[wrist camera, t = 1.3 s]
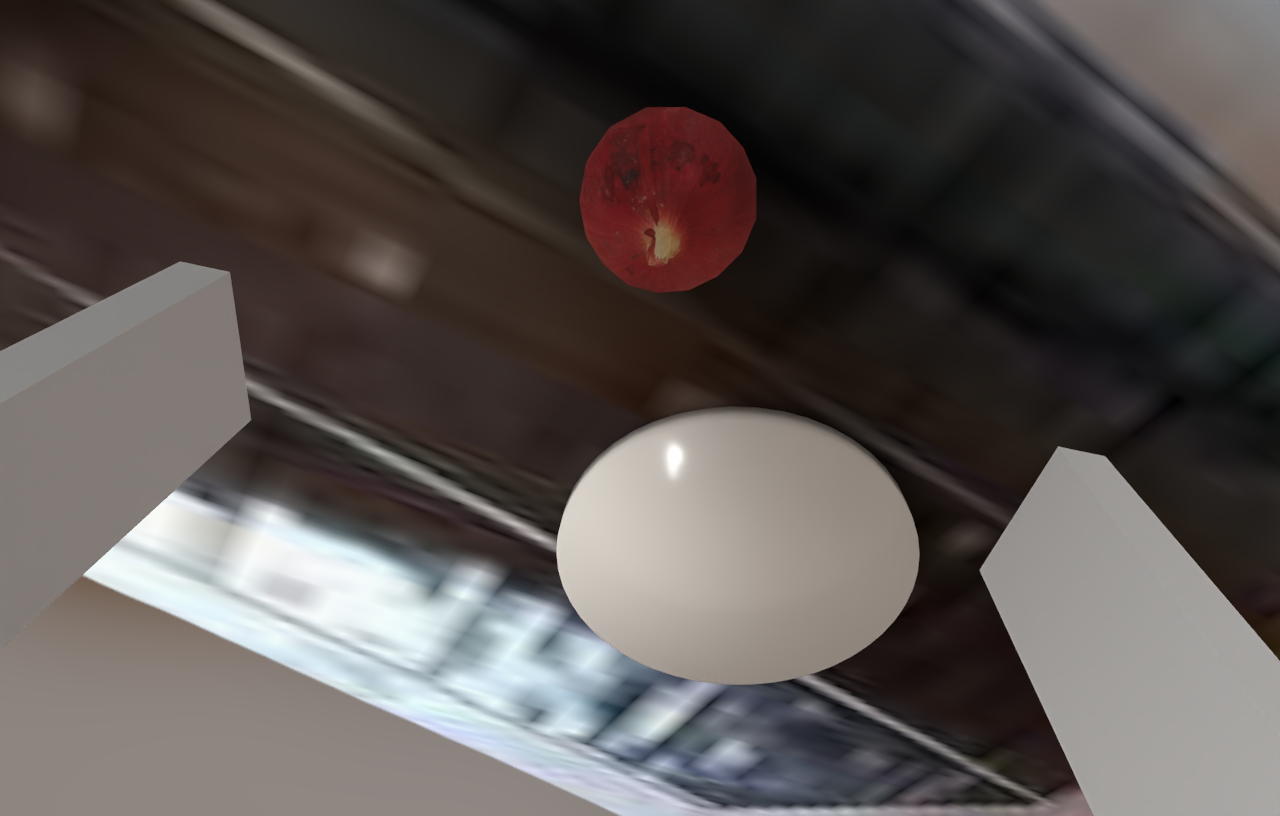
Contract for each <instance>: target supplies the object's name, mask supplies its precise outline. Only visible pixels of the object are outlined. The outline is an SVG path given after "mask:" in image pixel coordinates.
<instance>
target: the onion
mask: <svg viewBox="0 0 1280 816" xmlns="http://www.w3.org/2000/svg"><path fill="white" fill-rule="evenodd" d="M579 202H580V208H581V213H582V219H583V224H584V229H585V234H586V237H587V239H588V241H589V243H590V244H591V246H592V247H593V249H594V250H595V252H596V253H597V255H598V257H599V258H600V260H601V261H602V263H603V264H604V265H605V266H606V267H607V268H608V269H609V270H611V271H612V272H613V273H614V274H615V275H617V276H618V277H619V278H620V279H621V280H622V281H624V282H625V283H626V284H627V285H629V286H633V287H637V288H641V289H645V290H649V291H652V292H656V293H661V292H673V291H685V290H690V289H692V288H694V287H696V286H699V285H701V284H703V283H705V282H707V281H709V280H711V279H713V278H715V277H717V276H719V275H720V274H721V273H722V272H723V271H724V270H725V269H726V268H727V267H728V266H729V265H730V264H731V263H732V262H733V261H734V260H735V259H736V258H737V257H738V256H739V255H740V254H741V253H742V251H743V249H744V246H745V244H746V242H747V239H748V237H749V235H750V232H751V230H752V228H753V225H754V223H755V221H756V176H755V174H754V172H753V169H752V167H751V165H750V162H749V160H748V157H747V155H746V153H745V150H744V148H743V147H742V145H741V144H740V143H739V142H738V141H737V140H736V139H735V138H734V137H733V136H732V134H731V133H730V132H729V131H728V130H727V129H726V128H725V127H724V126H723V125H722V123H721V122H719V121H717V120H715V119H712V118H710V117H708V116H705V115H703V114H701V113H698V112H696V111H694V110H691V109H689V108H687V107H646V108H644V109H642V110H640V111H638V112H637V113H635V114H633V115H631V116H629V117H627V118H625V119H624V120H622V121H620V122H618V123H616V124H614V125H612V126H611V127H610V128H609V129H608V130H607V132H606V133H605V135H604V136H603V138H602V139H601V140H600V142H599V143H598V145H597V146H596V147H595V149H594V150H593V152H592V153H591V155H590V156H589V157H588V160H587V163H586V166H585V171H584V177H583V182H582V188H581V193H580V199H579Z"/></svg>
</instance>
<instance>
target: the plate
mask: <svg viewBox="0 0 1280 816" xmlns="http://www.w3.org/2000/svg"><path fill="white" fill-rule="evenodd" d="M919 555H920V554H919V543H918V535H917V531H916V528H915V524H914V521H913V518H912V515H911V512H910V510H909V507H908V505H907V502H906V500H905V498H904V496H903V494H902V492H901V490H900V488H899V486H898V484H897V483H896V481H895V480H894V478H893V477H892V476H891V474H890V473H889V471H888V470H887V469H886V467H885V466H884V465H883V464H882V463H881V462H880V461H879V460H878V459H877V458H876V457H875V456H874V455H873V454H872V453H871V452H869V451H868V450H867V449H865V448H864V447H863V446H861V445H860V444H859V443H857V442H856V441H855V440H853V439H852V438H850V437H848V436H846V435H845V434H843V433H841V432H839V431H837V430H836V429H834V428H832V427H830V426H827V425H825V424H822V423H820V422H817V421H815V420H812V419H810V418H807V417H803V416H799V415H796V414H792V413H788V412H785V411H779V410H772V409H765V408H759V407H735V406H729V407H716V408H704V409H699V410H693V411H688V412H683V413H678V414H675V415H672V416H669V417H666V418H662V419H659V420H656V421H654V422H651V423H649V424H647V425H645V426H643V427H640V428H638V429H636V430H634V431H632V432H630V433H629V434H627V435H626V436H624V437H622V438H621V439H619V440H617V441H616V442H614V443H613V444H612V445H611V446H609V447H608V448H607V449H606V450H604V451H603V452H602V453H601V454H600V455H598V456H597V457H596V459H595V460H594V461H593V462H592V463H591V464H590V465H589V466H588V467H587V468H586V469H585V471H584V472H583V474H582V475H581V477H580V478H579V480H578V481H577V483H576V484H575V486H574V487H573V490H572V492H571V494H570V496H569V498H568V501H567V503H566V506H565V510H564V514H563V517H562V521H561V525H560V529H559V533H558V539H557V563H558V571H559V574H560V578H561V581H562V585H563V587H564V590H565V592H566V594H567V596H568V598H569V600H570V602H571V604H572V605H573V607H574V608H575V610H576V611H577V613H578V614H579V616H580V617H581V618H582V619H583V620H584V622H585V623H586V624H587V625H588V626H589V627H590V628H591V629H592V630H593V631H594V632H595V633H596V634H597V635H598V636H599V637H600V638H602V639H603V640H604V641H605V642H606V643H608V644H609V645H611V646H612V647H614V648H615V649H616V650H618V651H619V652H621V653H623V654H624V655H626V656H628V657H630V658H631V659H633V660H635V661H637V662H639V663H641V664H644V665H646V666H648V667H650V668H653V669H655V670H658V671H661V672H664V673H667V674H670V675H673V676H677V677H682V678H686V679H690V680H695V681H701V682H708V683H717V684H732V685H741V684H762V683H772V682H779V681H784V680H789V679H795V678H798V677H802V676H806V675H809V674H813V673H816V672H818V671H821V670H824V669H826V668H829V667H831V666H834V665H836V664H838V663H840V662H842V661H844V660H846V659H848V658H850V657H852V656H853V655H855V654H856V653H858V652H859V651H861V650H862V649H864V648H865V647H867V646H868V645H870V644H871V643H872V642H873V641H874V640H876V639H877V638H878V637H879V636H880V635H882V634H883V633H884V632H885V630H886V629H887V628H888V627H889V626H890V625H891V624H892V623H893V622H894V621H895V619H896V618H897V617H898V615H899V614H900V612H901V611H902V609H903V608H904V606H905V605H906V603H907V601H908V599H909V596H910V594H911V592H912V590H913V587H914V584H915V580H916V577H917V573H918V565H919Z"/></svg>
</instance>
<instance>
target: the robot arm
mask: <svg viewBox="0 0 1280 816" xmlns="http://www.w3.org/2000/svg"><path fill="white" fill-rule="evenodd" d="M250 420H251V416H250V409H249V402H248V395H247V388H246V381H245V374H244V367H243V360H242V353H241V346H240V339H239V332H238V325H237V318H236V312H235V305H234V298H233V291H232V284H231V277H230V272H227V271H222V270H218V269H213V268H208V267H203V266H199V265H194V264H189V263H184V262H178V263H176V264H174V265H172V266H170V267H168V268H166V269H164V270H162V271H160V272H158V273H156V274H154V275H152V276H150V277H148V278H146V279H144V280H142V281H140V282H138V283H136V284H134V285H132V286H130V287H128V288H126V289H124V290H122V291H120V292H118V293H116V294H114V295H112V296H110V297H108V298H106V299H104V300H102V301H100V302H98V303H96V304H94V305H92V306H90V307H88V308H86V309H84V310H82V311H80V312H78V313H76V314H74V315H72V316H70V317H68V318H66V319H64V320H62V321H60V322H58V323H56V324H54V325H52V326H50V327H48V328H46V329H44V330H42V331H40V332H38V333H36V334H34V335H32V336H30V337H28V338H26V339H24V340H22V341H20V342H18V343H16V344H14V345H12V346H10V347H8V348H6V349H4V350H2V351H0V650H1V649H2V648H3V647H4V646H6V645H7V644H8V643H9V642H10V641H11V640H12V639H13V638H14V637H15V636H16V635H17V634H18V633H20V632H21V631H22V630H23V629H24V628H25V627H26V626H27V625H28V624H29V623H30V622H31V621H33V620H34V619H35V618H36V617H37V616H38V615H39V614H40V613H41V612H42V611H44V610H45V609H46V608H47V607H48V606H49V605H50V604H51V603H52V602H53V601H54V600H56V599H57V598H58V597H59V596H60V595H61V594H62V593H63V592H64V591H65V590H66V589H68V588H69V587H70V586H71V585H72V584H73V583H74V582H75V581H76V580H77V579H78V578H80V577H81V576H82V575H83V574H84V573H85V572H86V571H87V570H88V569H89V568H90V567H92V566H93V565H94V564H95V563H96V562H97V561H98V560H99V559H100V558H101V557H102V556H103V555H105V554H106V553H107V552H108V551H109V550H110V549H111V548H112V547H113V546H114V545H115V544H117V543H118V542H119V541H120V540H121V539H122V538H123V537H124V536H125V535H126V534H127V533H129V532H130V531H131V530H132V529H133V528H134V527H135V526H136V525H137V524H138V523H139V522H141V521H142V520H143V519H144V518H145V517H146V516H147V515H148V514H149V513H150V512H151V511H152V510H154V509H155V508H156V507H157V506H158V505H159V504H160V503H161V502H162V501H163V500H164V499H166V498H167V497H168V496H169V495H170V494H171V493H172V492H173V491H174V490H175V489H176V488H178V487H179V486H180V485H181V484H182V483H183V482H184V481H185V480H186V479H187V478H188V477H190V476H191V475H192V474H193V473H194V472H195V471H196V470H197V469H198V468H199V467H200V466H201V465H203V464H204V463H205V462H206V461H207V460H208V459H209V458H210V457H211V456H212V455H213V454H215V453H216V452H217V451H218V450H219V449H220V448H221V447H222V446H223V445H224V444H225V443H227V442H228V441H229V440H230V439H231V438H232V437H233V436H234V435H235V434H236V433H237V432H239V431H240V430H241V429H242V428H243V427H244V426H245V425H246V424H247V423H248V422H249V421H250ZM980 573H981V575H982V577H983V579H984V581H985V583H986V585H987V588H988V590H989V592H990V594H991V596H992V598H993V601H994V603H995V605H996V607H997V609H998V611H999V613H1000V616H1001V618H1002V620H1003V622H1004V624H1005V626H1006V628H1007V631H1008V633H1009V635H1010V637H1011V639H1012V641H1013V644H1014V646H1015V648H1016V650H1017V652H1018V654H1019V656H1020V659H1021V661H1022V663H1023V665H1024V667H1025V669H1026V671H1027V674H1028V676H1029V678H1030V680H1031V682H1032V684H1033V687H1034V689H1035V691H1036V693H1037V695H1038V697H1039V699H1040V702H1041V704H1042V706H1043V708H1044V710H1045V712H1046V715H1047V717H1048V719H1049V721H1050V723H1051V725H1052V727H1053V730H1054V732H1055V734H1056V736H1057V738H1058V740H1059V742H1060V745H1061V747H1062V749H1063V751H1064V753H1065V755H1066V758H1067V760H1068V762H1069V764H1070V766H1071V768H1072V770H1073V773H1074V775H1075V777H1076V779H1077V781H1078V783H1079V785H1080V788H1081V790H1082V792H1083V794H1084V796H1085V798H1086V801H1087V803H1088V805H1089V807H1090V809H1091V811H1092V813H1093V816H1280V661H1279V659H1278V658H1277V657H1276V656H1275V655H1274V654H1273V652H1272V651H1271V650H1270V649H1269V648H1268V647H1267V645H1266V644H1265V643H1264V642H1263V641H1262V640H1261V638H1260V637H1259V636H1258V635H1257V634H1256V633H1255V631H1254V630H1253V629H1252V628H1251V627H1250V626H1249V624H1248V623H1247V622H1246V621H1245V620H1244V618H1243V617H1242V616H1241V615H1240V614H1239V613H1238V611H1237V610H1236V609H1235V608H1234V607H1233V606H1232V604H1231V603H1230V602H1229V601H1228V600H1227V599H1226V597H1225V596H1224V595H1223V594H1222V593H1221V592H1220V590H1219V589H1218V588H1217V587H1216V586H1215V584H1214V583H1213V582H1212V581H1211V580H1210V579H1209V577H1208V576H1207V575H1206V574H1205V573H1204V572H1203V570H1202V569H1201V568H1200V567H1199V566H1198V565H1197V563H1196V562H1195V561H1194V560H1193V559H1192V558H1191V556H1190V555H1189V554H1188V553H1187V552H1186V551H1185V549H1184V548H1183V547H1182V546H1181V545H1180V543H1179V542H1178V541H1177V540H1176V539H1175V538H1174V536H1173V535H1172V534H1171V533H1170V532H1169V531H1168V529H1167V528H1166V527H1165V526H1164V525H1163V524H1162V522H1161V521H1160V520H1159V519H1158V518H1157V517H1156V515H1155V514H1154V513H1153V512H1152V511H1151V509H1150V508H1149V507H1148V506H1147V505H1146V504H1145V502H1144V501H1143V500H1142V499H1141V498H1140V497H1139V495H1138V494H1137V493H1136V492H1135V491H1134V490H1133V488H1132V487H1131V486H1130V485H1129V484H1128V483H1127V481H1126V480H1125V479H1124V478H1123V477H1122V476H1121V474H1120V473H1119V472H1118V471H1117V470H1116V468H1115V467H1114V466H1113V465H1112V464H1111V463H1110V461H1109V460H1108V459H1107V458H1106V457H1105V456H1101V455H1096V454H1091V453H1087V452H1082V451H1077V450H1072V449H1068V448H1063V447H1057V449H1056V451H1055V452H1054V454H1053V455H1052V457H1051V458H1050V460H1049V462H1048V463H1047V465H1046V466H1045V468H1044V469H1043V471H1042V473H1041V474H1040V476H1039V477H1038V479H1037V480H1036V482H1035V484H1034V485H1033V487H1032V488H1031V490H1030V491H1029V493H1028V495H1027V496H1026V498H1025V499H1024V501H1023V502H1022V504H1021V506H1020V507H1019V509H1018V510H1017V512H1016V513H1015V515H1014V517H1013V518H1012V520H1011V521H1010V523H1009V524H1008V526H1007V528H1006V529H1005V531H1004V532H1003V534H1002V535H1001V537H1000V539H999V540H998V542H997V543H996V545H995V546H994V548H993V550H992V551H991V553H990V554H989V556H988V557H987V559H986V561H985V562H984V564H983V565H982V567H981V568H980Z"/></svg>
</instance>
